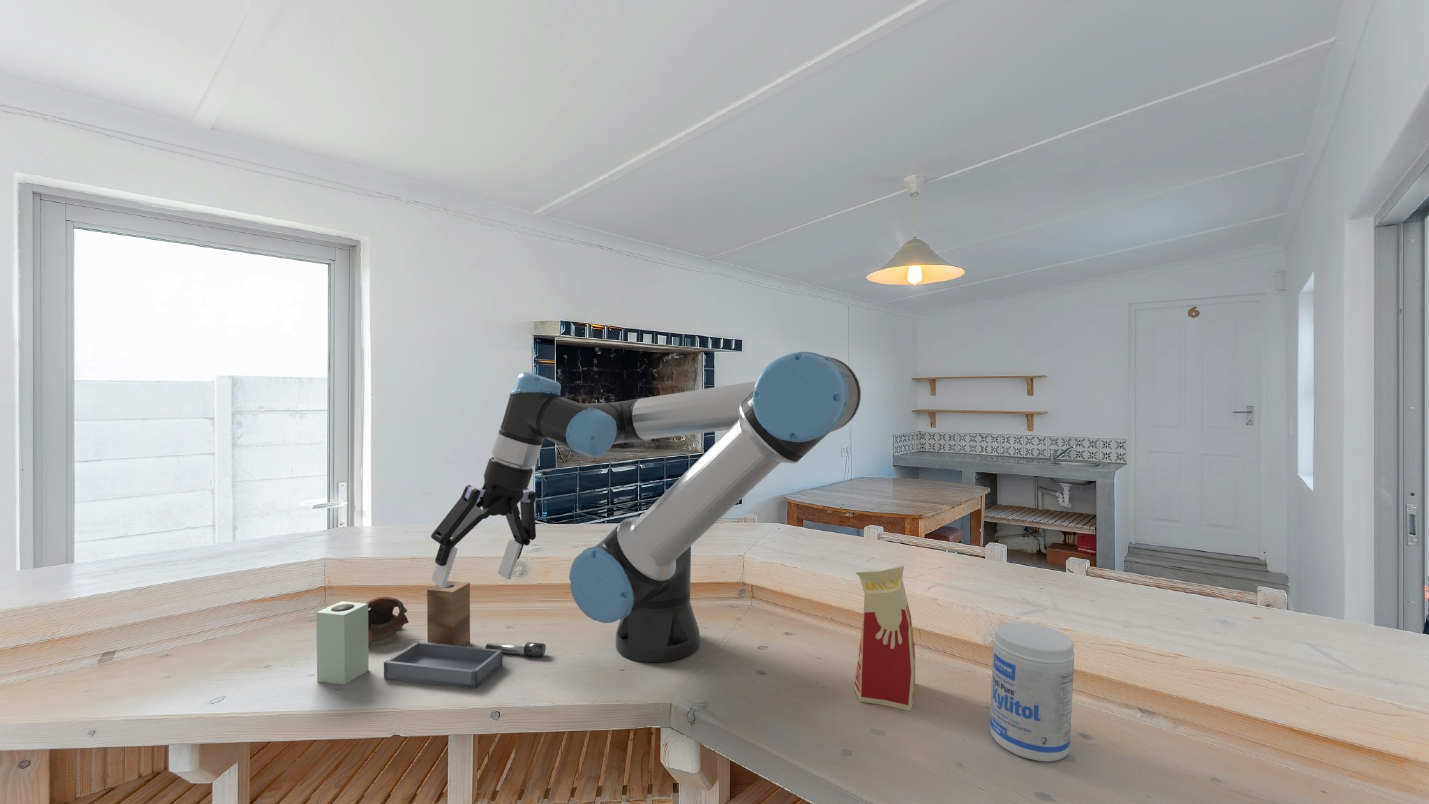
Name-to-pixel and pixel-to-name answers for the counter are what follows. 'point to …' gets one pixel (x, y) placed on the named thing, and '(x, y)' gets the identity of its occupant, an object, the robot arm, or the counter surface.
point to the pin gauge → (520, 649)
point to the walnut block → (449, 614)
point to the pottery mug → (384, 618)
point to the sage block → (342, 642)
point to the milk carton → (886, 642)
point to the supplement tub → (1032, 690)
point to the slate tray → (444, 664)
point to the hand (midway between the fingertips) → (472, 579)
